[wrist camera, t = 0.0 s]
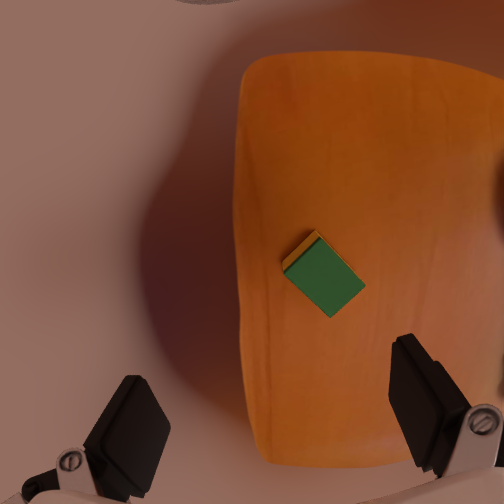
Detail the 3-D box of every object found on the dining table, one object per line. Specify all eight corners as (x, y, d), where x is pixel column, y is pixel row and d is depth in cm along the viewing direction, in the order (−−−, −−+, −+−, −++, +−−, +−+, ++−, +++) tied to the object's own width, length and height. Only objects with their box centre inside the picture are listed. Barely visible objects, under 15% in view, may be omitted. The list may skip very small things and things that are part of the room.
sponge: (281, 261, 31) (283, 274, 28) (314, 229, 30) (321, 238, 26) (323, 301, 33) (330, 318, 29) (355, 272, 31) (366, 285, 28)
